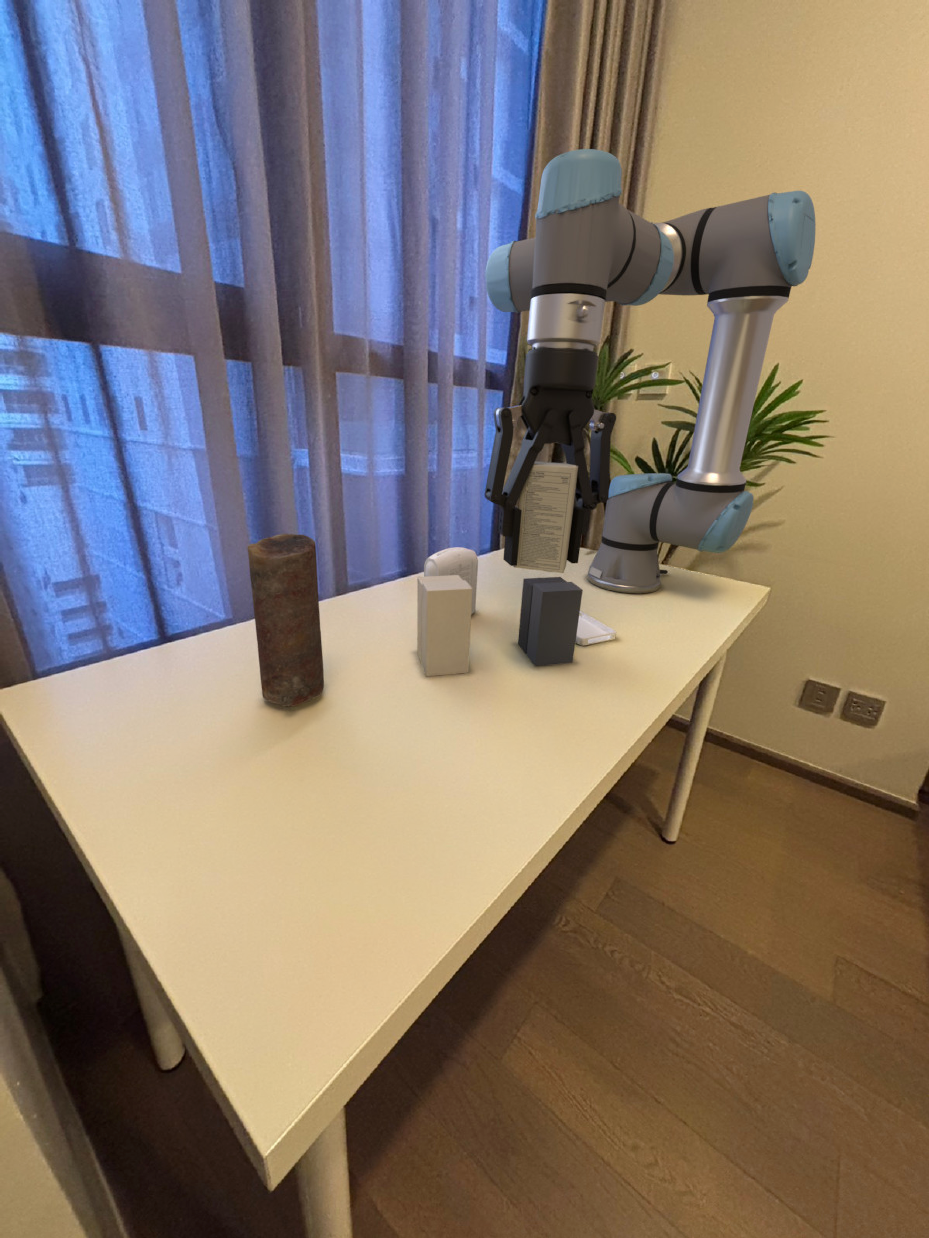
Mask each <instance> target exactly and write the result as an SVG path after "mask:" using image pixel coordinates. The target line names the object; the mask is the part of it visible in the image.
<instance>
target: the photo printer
mask: <svg viewBox="0 0 929 1238" xmlns="http://www.w3.org/2000/svg"><path fill="white" fill-rule="evenodd" d="M478 569H479V558H478V555H477V553H476V551H475V550H473V549H469V548H467V547H462V546H461V547H460V546H459V547H458V546H457V547H448V548H444V549H442V550H439V551H438V552H435V553H433V554H432V555H429V556H428V557H427V558H426V559H425V561H424V565H423V577H427V576H450V575H459V576H460V578H461V579H462V580H466V581H467V583H468V584H469V585H470V586H471V588H472V606H471V615H473V614H475V612H476V609H477V607H476V605H477V589H478V588H477V587H478V573H479V572H478Z"/></svg>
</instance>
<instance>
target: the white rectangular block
mask: <svg viewBox="0 0 929 1238" xmlns="http://www.w3.org/2000/svg"><path fill="white" fill-rule="evenodd" d="M416 589H417V599H416V601H417V602H416V603H417V609H416V611H417V614H416V615H417V619H416V620H417V625H416V631H417V632H416V634H417V635H416V637H417V639H416V640H417V641H416V643H417V644H416V645H417V646H416V647H417V649H416V651H417V656H418V658H419V661H420V664H421V666H422V669H423V672H424V674H425V676H426V677H436V676H447V675H448V676H449V675H456V674H457V675H458V674H467V673H469V666H470V648H471V646H470V645H471V625H472V624H471V623H472V614H471V606H472V588H471V586H470V585H469V584H468V583H467V581H466V580H462V579H461V578H460V576H459V575H450V576H427V577H424V576H417V588H416Z"/></svg>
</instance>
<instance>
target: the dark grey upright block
mask: <svg viewBox="0 0 929 1238" xmlns="http://www.w3.org/2000/svg"><path fill="white" fill-rule="evenodd" d="M583 591H584V590H583V589H582V588H581V587H580V586H578V585H577V584H576V583H575V582H573V581H566V579H564V578H563V577H561V576H548V577H529V578H523V581H522V591H521V602H520V614H519V624H518V637H517V646H518V647H519V648H520V650H521V651H522V652H523V653H524V655H526V657H527V658H528V660H529V661H530V662H531V663H532V665H533V666H534V667H542V666H553V665H562V664H563V665H564V664H573V663H574V655H575V649H576V635H577V628H578V620H579V615H580V611H581V607H582V606H581V605H582V598H583Z"/></svg>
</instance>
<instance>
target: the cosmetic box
mask: <svg viewBox="0 0 929 1238" xmlns="http://www.w3.org/2000/svg"><path fill="white" fill-rule="evenodd" d="M577 472H578V466H576V465H572V464H568V463H567V462H552V461H551V462H550V461H537V460H535V462H534V465H533V467H532V469H531V472H530V474H529V476H528V478H527V481H526V483H525V485H524V487H523V490H522V492H521V494H520V497H519V499H518V505H517V508H518V509H520V510H522V512H521V524H520V536H519V547H518V559H517V566H513V568H518V569H525V570H533V571H534V570H535V571H541V572H548V573H560V574H564V573H565V571H566V567H567V562H568V560H567V555H568V547H569V538H570V531H571V523H572V515H573V506H574V505H575V490H576V482H577Z"/></svg>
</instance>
